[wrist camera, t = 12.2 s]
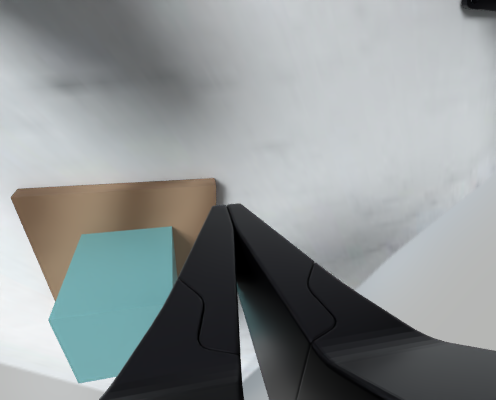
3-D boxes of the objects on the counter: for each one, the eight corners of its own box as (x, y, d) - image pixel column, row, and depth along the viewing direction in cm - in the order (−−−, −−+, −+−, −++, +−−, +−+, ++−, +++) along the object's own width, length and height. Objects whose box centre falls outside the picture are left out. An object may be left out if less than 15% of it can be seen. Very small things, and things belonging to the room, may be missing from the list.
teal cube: (171, 226, 21) (172, 302, 16) (178, 284, 24) (180, 364, 19) (81, 234, 20) (48, 320, 14) (100, 294, 23) (78, 383, 17)
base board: (214, 178, 21) (216, 185, 20) (215, 295, 27) (216, 304, 26) (17, 189, 18) (10, 197, 18) (69, 315, 25) (65, 325, 24)
